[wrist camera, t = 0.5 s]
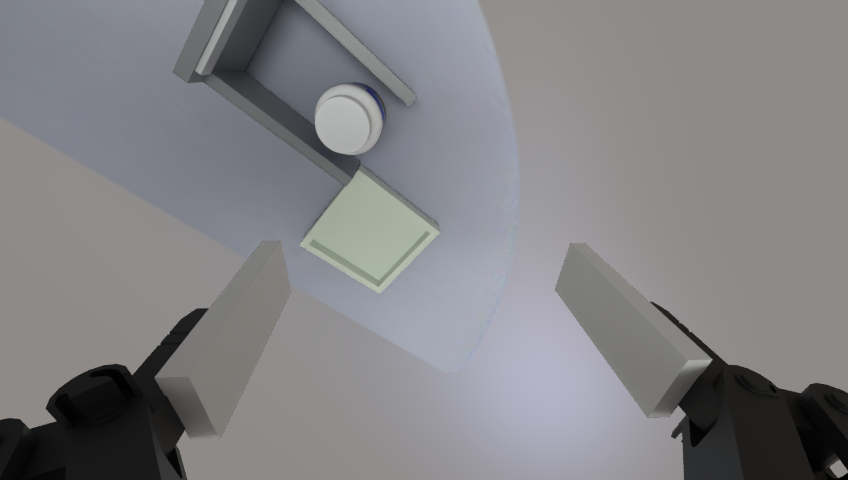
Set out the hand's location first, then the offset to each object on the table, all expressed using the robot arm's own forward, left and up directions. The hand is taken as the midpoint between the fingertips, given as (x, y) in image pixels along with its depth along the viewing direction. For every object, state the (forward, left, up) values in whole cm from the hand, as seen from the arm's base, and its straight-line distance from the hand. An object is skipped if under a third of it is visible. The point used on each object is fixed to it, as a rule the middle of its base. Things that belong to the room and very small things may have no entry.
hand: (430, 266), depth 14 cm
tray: (+2, -10, -22) cm, 24 cm away
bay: (-11, 0, -22) cm, 24 cm away
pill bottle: (-7, 0, -22) cm, 23 cm away
